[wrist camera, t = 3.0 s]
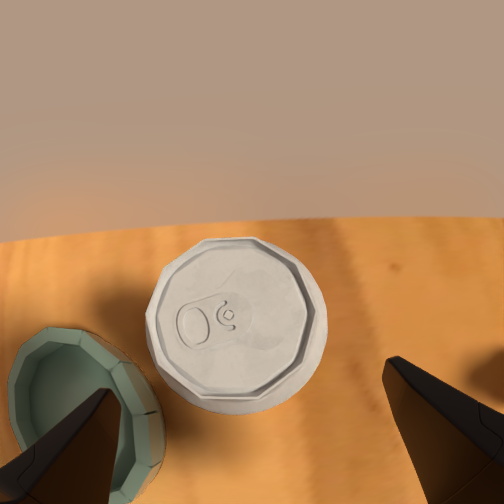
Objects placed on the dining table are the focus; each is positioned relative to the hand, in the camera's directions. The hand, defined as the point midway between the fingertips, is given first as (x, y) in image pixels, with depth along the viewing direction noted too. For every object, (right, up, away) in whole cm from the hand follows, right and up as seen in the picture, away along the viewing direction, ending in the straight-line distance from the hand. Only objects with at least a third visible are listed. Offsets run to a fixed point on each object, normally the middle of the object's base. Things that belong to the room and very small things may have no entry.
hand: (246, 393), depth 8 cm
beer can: (0, -2, +9) cm, 10 cm away
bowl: (-12, -8, +7) cm, 16 cm away
